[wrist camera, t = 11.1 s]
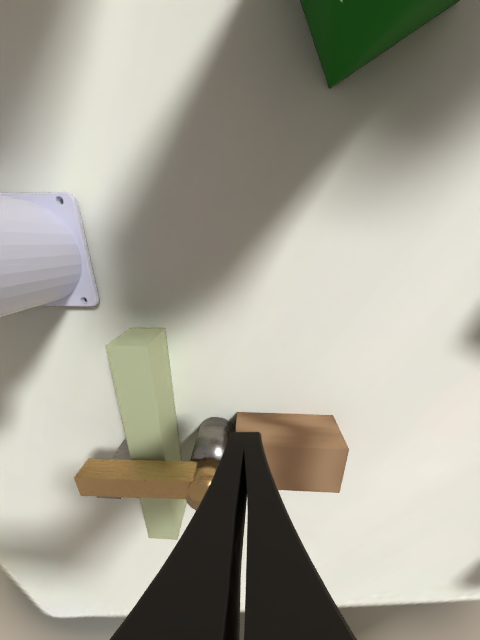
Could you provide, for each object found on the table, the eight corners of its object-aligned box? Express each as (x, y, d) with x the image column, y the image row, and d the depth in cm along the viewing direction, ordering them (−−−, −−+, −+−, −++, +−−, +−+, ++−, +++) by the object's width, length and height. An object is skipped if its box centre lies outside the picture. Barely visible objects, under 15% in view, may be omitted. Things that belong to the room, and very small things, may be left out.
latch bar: (226, 458, 18) (223, 487, 16) (227, 483, 19) (224, 513, 17) (87, 455, 18) (66, 482, 16) (95, 478, 19) (76, 507, 17)
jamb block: (237, 451, 23) (234, 487, 19) (237, 412, 21) (234, 444, 18) (326, 454, 22) (339, 492, 19) (332, 415, 21) (349, 449, 17)
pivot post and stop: (128, 445, 23) (97, 497, 19) (121, 413, 22) (85, 461, 17) (235, 450, 23) (231, 504, 18) (235, 417, 21) (230, 467, 17)
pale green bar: (161, 501, 26) (148, 537, 23) (130, 327, 19) (105, 345, 15) (186, 502, 26) (177, 539, 23) (165, 328, 19) (147, 346, 15)
